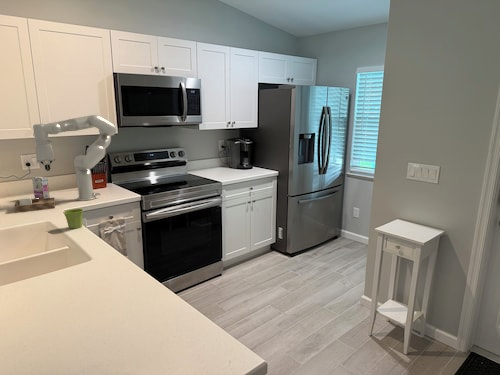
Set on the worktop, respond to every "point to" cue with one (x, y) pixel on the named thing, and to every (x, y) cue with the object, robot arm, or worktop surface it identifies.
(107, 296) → the worktop surface
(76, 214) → the plant pot
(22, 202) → the cream block
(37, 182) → the candy bar box
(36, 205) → the box
